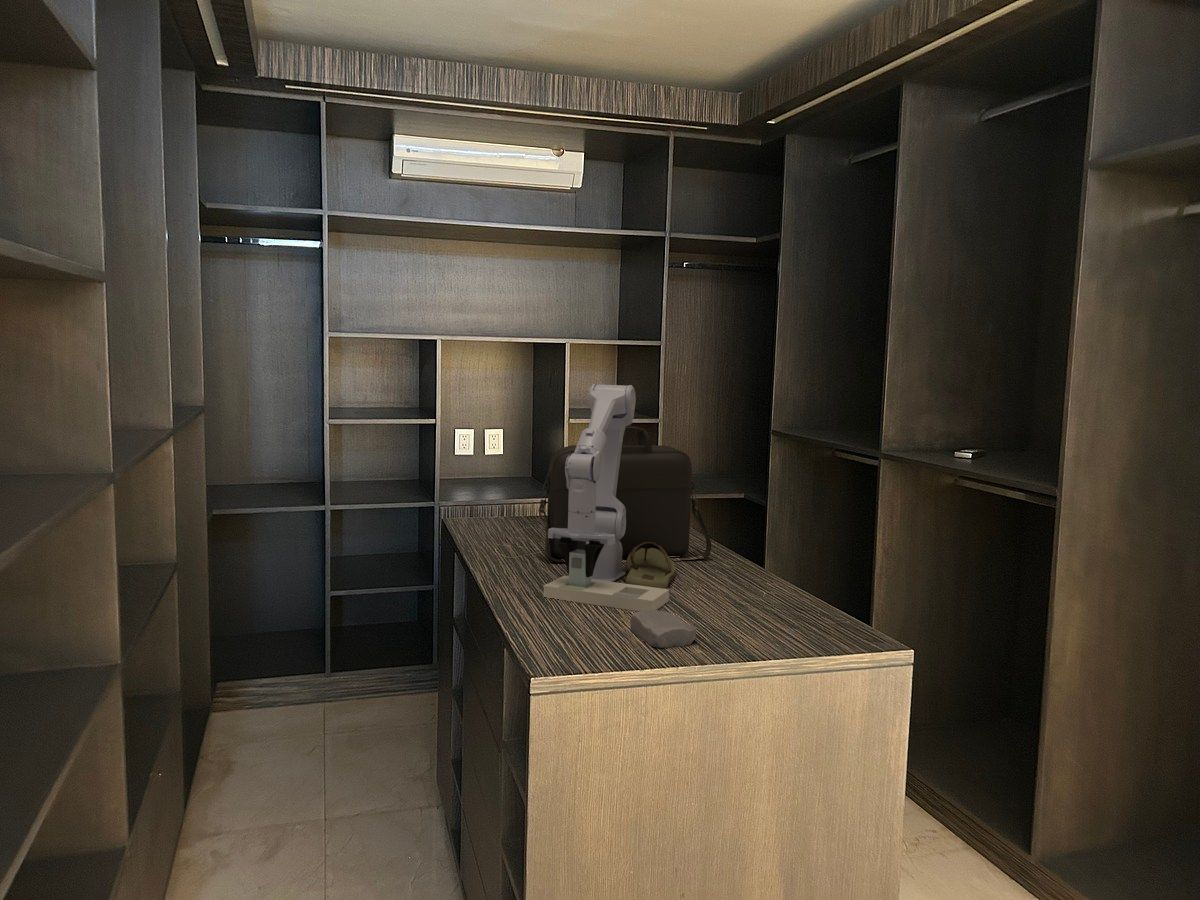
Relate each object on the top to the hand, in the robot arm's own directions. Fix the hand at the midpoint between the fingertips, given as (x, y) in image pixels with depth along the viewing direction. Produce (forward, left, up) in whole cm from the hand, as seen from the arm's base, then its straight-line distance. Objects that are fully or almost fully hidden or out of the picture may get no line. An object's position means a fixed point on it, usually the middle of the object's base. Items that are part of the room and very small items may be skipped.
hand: (580, 575), depth 195 cm
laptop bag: (-39, -6, -5) cm, 39 cm away
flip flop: (-20, +8, -5) cm, 22 cm away
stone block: (+18, +25, -5) cm, 32 cm away
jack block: (0, +6, -4) cm, 7 cm away
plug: (0, 0, -4) cm, 4 cm away
